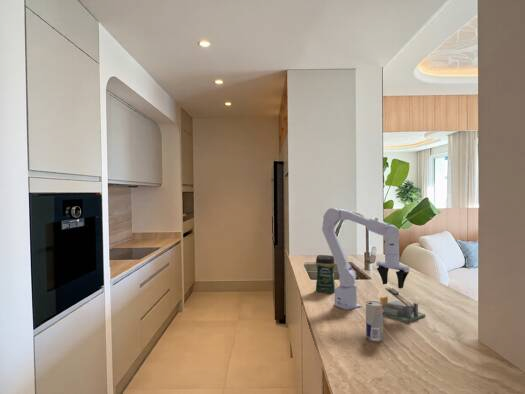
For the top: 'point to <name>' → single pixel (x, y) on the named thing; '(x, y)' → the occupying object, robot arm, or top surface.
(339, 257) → the robot arm
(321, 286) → the coffee jar
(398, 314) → the clamp board
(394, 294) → the clamp bar
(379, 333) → the energy drink
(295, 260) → the top surface
